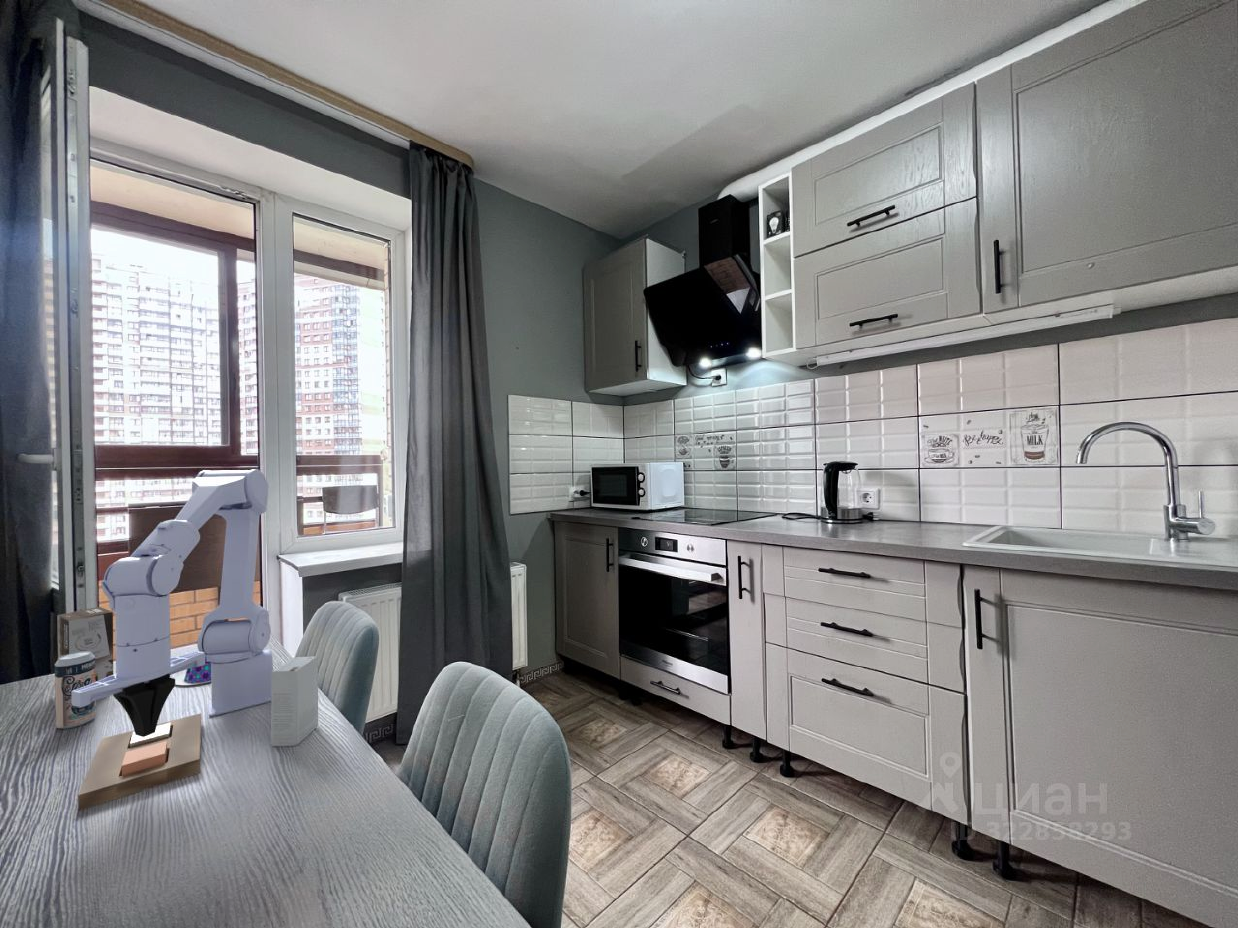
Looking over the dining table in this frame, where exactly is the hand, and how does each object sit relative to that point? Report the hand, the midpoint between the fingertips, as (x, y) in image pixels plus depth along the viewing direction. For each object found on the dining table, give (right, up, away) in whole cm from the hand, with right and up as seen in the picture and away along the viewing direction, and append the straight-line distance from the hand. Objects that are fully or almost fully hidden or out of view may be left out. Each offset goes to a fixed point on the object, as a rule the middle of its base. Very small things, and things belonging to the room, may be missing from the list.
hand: (145, 733), depth 71 cm
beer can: (-27, -7, +16) cm, 32 cm away
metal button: (-6, -6, +7) cm, 11 cm away
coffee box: (-39, -7, +28) cm, 48 cm away
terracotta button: (0, -5, 0) cm, 5 cm away
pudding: (-20, -7, +36) cm, 42 cm away
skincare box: (+16, -6, +9) cm, 19 cm away
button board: (-3, -6, +3) cm, 7 cm away
